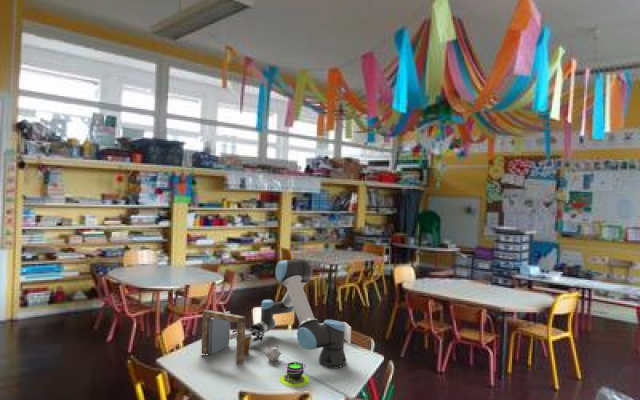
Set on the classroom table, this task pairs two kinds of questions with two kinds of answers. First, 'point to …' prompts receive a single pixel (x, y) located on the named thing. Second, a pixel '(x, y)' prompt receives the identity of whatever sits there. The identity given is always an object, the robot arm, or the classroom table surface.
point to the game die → (273, 354)
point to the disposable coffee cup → (246, 341)
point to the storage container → (346, 332)
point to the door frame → (227, 317)
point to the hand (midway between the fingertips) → (240, 339)
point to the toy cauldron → (294, 375)
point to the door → (218, 334)
